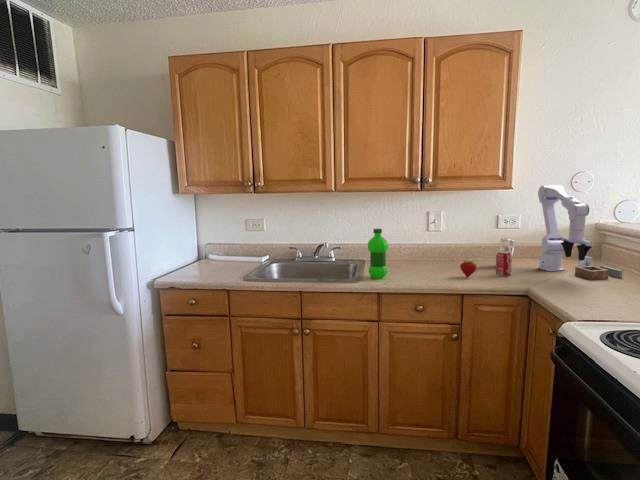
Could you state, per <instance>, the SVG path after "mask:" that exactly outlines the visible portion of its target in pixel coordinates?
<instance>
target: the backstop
mask: <svg viewBox="0 0 640 480" xmlns="http://www.w3.org/2000/svg"><path fill="white" fill-rule="evenodd" d="M599 268H603V269H606V270H609V276H610V277H614V278H618V279H621V278H623V270H621V269H618V268H613V267H610V266H605V265H600V267H599Z"/></svg>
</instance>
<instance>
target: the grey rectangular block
mask: <svg viewBox="0 0 640 480" xmlns="http://www.w3.org/2000/svg"><path fill="white" fill-rule="evenodd" d="M593 263H594V257H593V256H588V255H586V256H585V259H584V260H579V259H578V266H577V267H582V266H593Z"/></svg>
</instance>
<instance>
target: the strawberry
mask: <svg viewBox="0 0 640 480" xmlns="http://www.w3.org/2000/svg"><path fill="white" fill-rule="evenodd" d="M474 262H475V261H473V260H468V259H466V260H463V262H462V263H460V266H459V267H460V271H462V274H464V276H466V277H467V278H469V277H471V276H472V275H473V274H474V273H475V272H476V270H477V264H476V263H474ZM466 277H465V278H466Z"/></svg>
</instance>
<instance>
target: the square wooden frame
mask: <svg viewBox="0 0 640 480" xmlns="http://www.w3.org/2000/svg"><path fill="white" fill-rule="evenodd" d="M574 268H575V269H574V275H575V276H577V277H581V278H583V279H587V280H590V281H591V280H592V281H593V280H604V279H609V276H610V275H609V270H606V269H603V268H600V267H598V266H595V265H592V266H582V267H578V266H575V267H574Z"/></svg>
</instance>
